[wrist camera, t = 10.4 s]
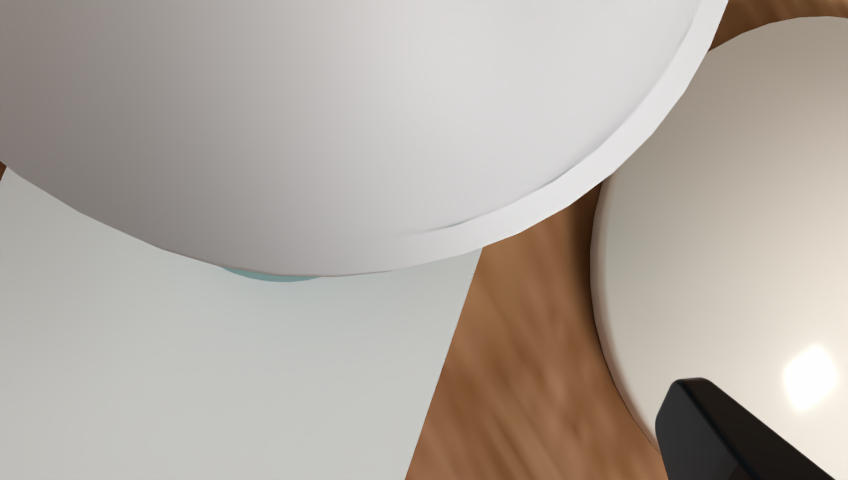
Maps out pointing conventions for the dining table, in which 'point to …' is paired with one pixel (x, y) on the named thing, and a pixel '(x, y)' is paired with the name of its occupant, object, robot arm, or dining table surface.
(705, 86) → the cream saucer
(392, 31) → the teal canister
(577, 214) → the dining table surface
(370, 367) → the grey mat
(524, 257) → the dining table surface
